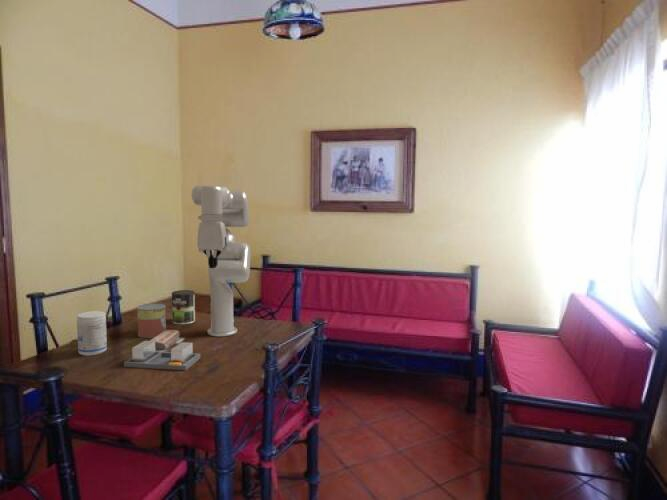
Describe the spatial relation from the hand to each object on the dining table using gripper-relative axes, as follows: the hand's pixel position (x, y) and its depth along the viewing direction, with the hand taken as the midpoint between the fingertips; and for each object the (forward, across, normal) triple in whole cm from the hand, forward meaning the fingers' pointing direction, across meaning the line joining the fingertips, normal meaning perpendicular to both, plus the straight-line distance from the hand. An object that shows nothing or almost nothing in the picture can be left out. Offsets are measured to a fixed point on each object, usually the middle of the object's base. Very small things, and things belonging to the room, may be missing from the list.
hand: (213, 267), depth 169 cm
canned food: (+32, -34, +16) cm, 50 cm away
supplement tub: (+32, -44, -9) cm, 55 cm away
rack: (+32, -12, -17) cm, 38 cm away
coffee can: (+32, -29, +36) cm, 56 cm away
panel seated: (+31, -19, -17) cm, 40 cm away
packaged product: (+33, -21, +1) cm, 39 cm away
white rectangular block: (+31, -5, -17) cm, 36 cm away
